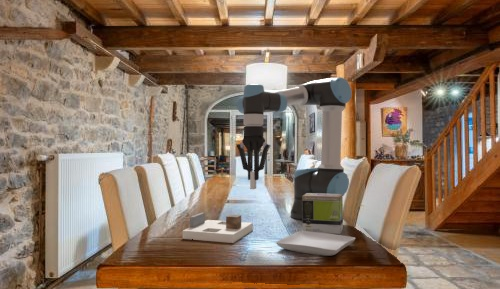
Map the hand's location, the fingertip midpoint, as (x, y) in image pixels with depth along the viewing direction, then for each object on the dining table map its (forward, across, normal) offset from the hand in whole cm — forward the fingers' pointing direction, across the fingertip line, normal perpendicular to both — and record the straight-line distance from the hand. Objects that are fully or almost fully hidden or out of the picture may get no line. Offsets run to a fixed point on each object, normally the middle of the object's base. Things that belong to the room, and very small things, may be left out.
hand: (253, 188), depth 153 cm
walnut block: (+15, +8, 0) cm, 17 cm away
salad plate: (+19, -25, +8) cm, 32 cm away
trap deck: (+18, +14, 0) cm, 23 cm away
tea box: (+18, -23, -19) cm, 35 cm away
